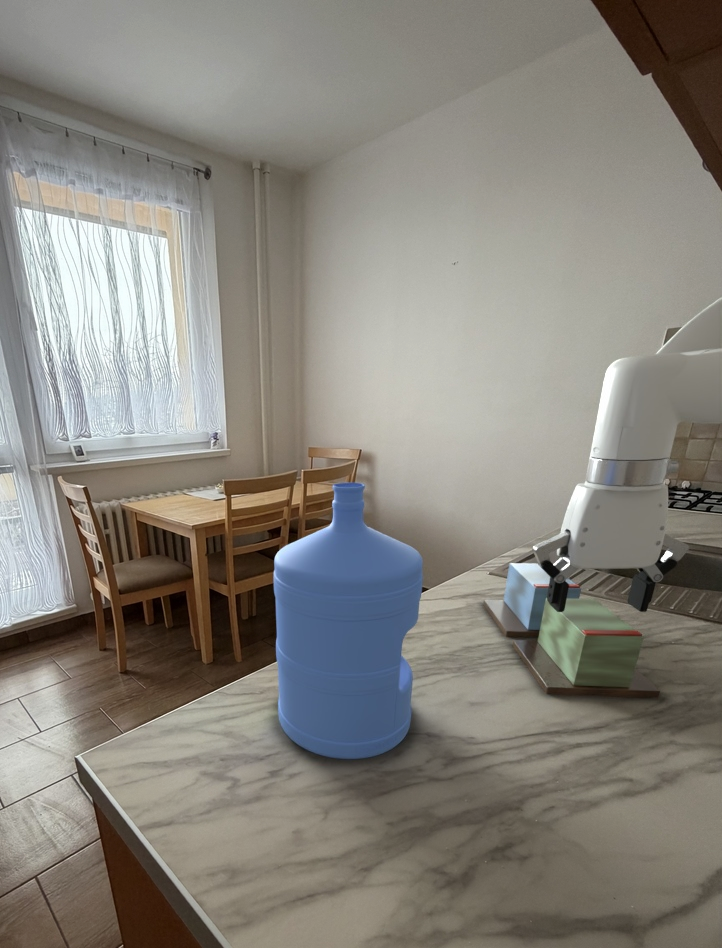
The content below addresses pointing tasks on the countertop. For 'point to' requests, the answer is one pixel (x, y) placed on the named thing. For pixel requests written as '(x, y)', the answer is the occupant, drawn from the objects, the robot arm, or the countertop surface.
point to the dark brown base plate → (508, 619)
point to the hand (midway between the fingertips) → (595, 607)
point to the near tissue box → (590, 643)
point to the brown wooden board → (560, 684)
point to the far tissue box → (531, 592)
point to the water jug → (345, 634)
